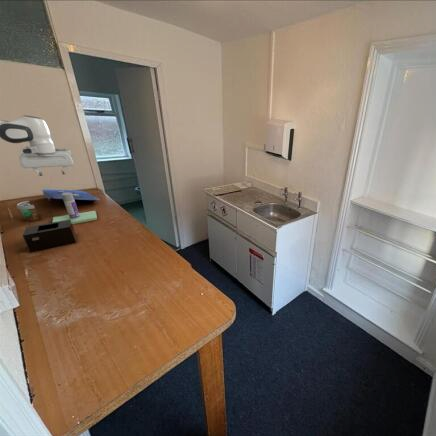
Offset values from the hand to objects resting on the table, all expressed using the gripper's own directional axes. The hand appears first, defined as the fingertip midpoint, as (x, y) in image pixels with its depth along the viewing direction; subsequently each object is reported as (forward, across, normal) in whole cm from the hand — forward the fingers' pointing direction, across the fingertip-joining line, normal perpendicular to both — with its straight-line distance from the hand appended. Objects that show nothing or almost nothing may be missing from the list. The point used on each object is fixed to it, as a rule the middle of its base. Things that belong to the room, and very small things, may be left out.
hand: (52, 174), depth 128 cm
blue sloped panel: (+33, +1, -43) cm, 54 cm away
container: (+27, -3, -1) cm, 27 cm away
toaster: (+28, +5, +28) cm, 41 cm away
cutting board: (+28, -3, -1) cm, 29 cm away
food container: (+29, +17, -16) cm, 37 cm away
